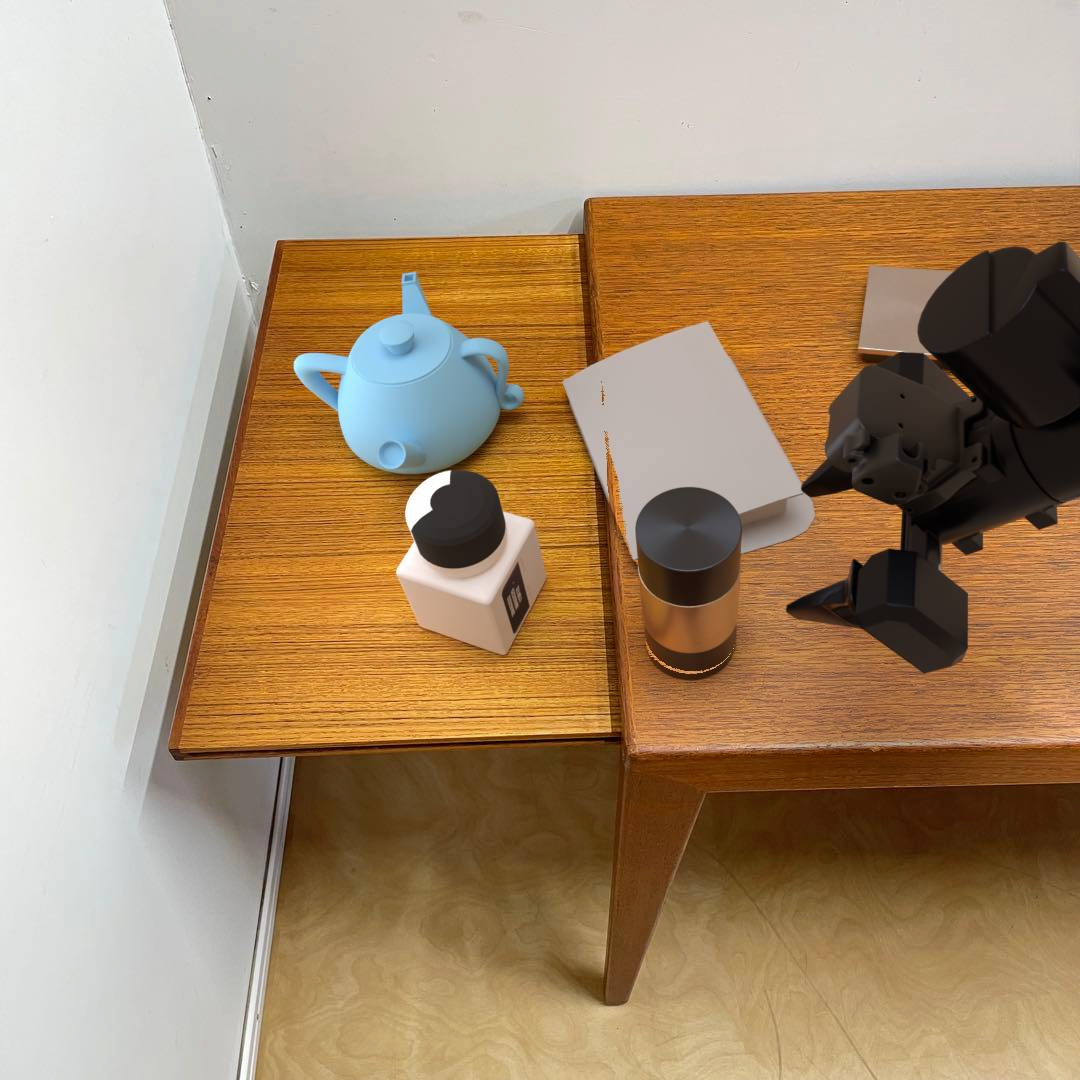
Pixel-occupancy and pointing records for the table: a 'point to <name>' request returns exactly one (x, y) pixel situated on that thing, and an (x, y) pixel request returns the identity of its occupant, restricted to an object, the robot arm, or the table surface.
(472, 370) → the teapot
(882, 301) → the platform
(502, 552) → the container
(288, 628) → the table surface
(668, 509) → the can
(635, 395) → the book
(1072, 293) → the robot arm
